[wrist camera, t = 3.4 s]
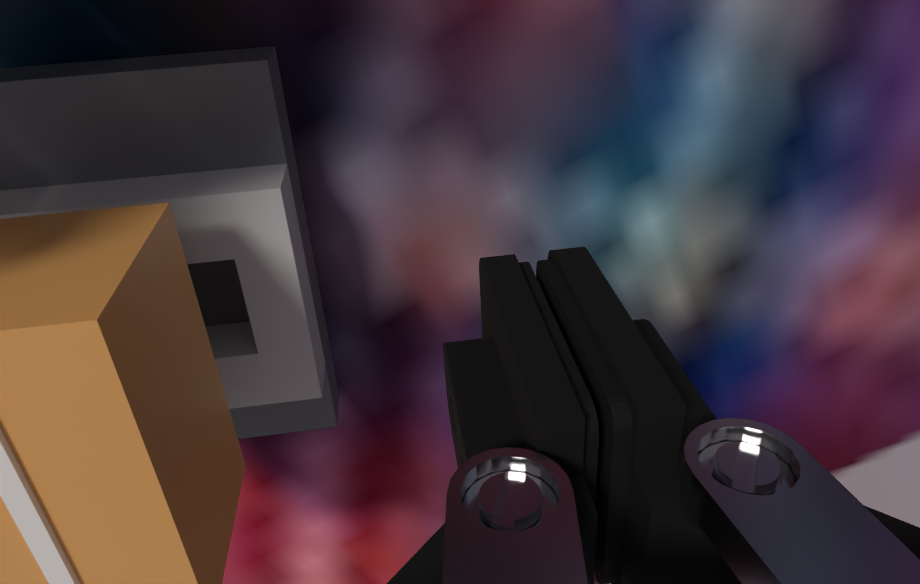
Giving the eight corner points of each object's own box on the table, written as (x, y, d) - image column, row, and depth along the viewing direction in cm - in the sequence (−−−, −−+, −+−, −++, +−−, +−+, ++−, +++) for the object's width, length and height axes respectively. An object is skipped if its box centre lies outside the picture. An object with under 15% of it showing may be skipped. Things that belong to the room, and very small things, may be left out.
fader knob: (198, 154, 12) (92, 325, 7) (259, 393, 14) (212, 630, 10) (3, 173, 12) (-235, 361, 7) (102, 412, 14) (-24, 664, 10)
